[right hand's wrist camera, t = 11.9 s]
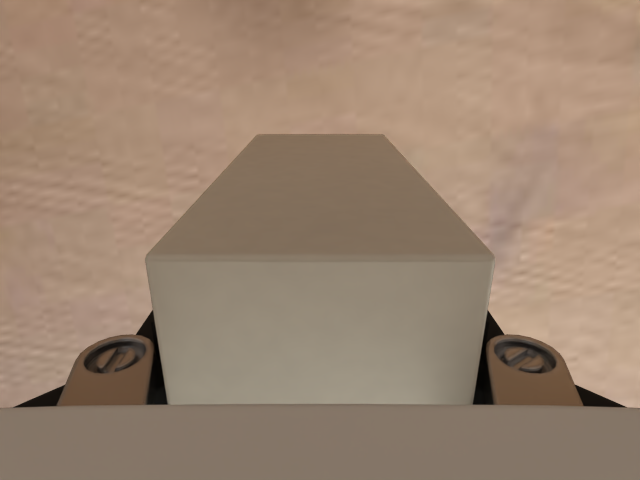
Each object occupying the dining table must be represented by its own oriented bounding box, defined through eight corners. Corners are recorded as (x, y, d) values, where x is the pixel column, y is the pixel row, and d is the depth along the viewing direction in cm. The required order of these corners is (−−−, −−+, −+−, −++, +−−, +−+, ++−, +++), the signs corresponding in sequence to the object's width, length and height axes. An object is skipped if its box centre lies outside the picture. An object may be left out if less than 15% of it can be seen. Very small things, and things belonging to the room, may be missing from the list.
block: (384, 133, 16) (498, 255, 6) (375, 302, 18) (444, 597, 8) (256, 133, 16) (140, 256, 6) (264, 302, 18) (196, 597, 8)
